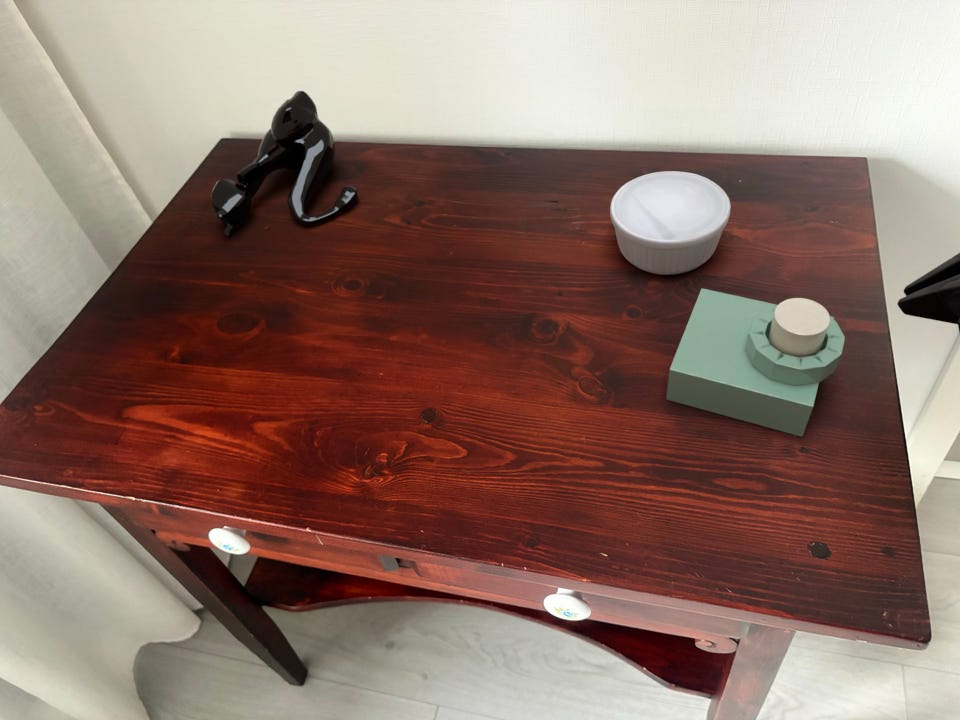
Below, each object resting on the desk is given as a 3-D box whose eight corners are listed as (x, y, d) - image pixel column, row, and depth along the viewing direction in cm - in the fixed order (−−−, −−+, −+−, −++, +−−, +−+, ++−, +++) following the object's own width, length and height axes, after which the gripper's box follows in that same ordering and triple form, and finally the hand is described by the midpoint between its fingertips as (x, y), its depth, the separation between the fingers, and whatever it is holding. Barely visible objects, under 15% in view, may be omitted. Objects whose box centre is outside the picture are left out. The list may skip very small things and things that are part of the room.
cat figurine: (391, 185, 93) (301, 292, 87) (301, 135, 95) (208, 235, 89) (386, 131, 84) (285, 246, 78) (287, 77, 86) (181, 183, 80)
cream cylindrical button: (826, 327, 60) (834, 304, 58) (817, 363, 57) (825, 340, 55) (774, 315, 61) (780, 292, 59) (763, 350, 59) (769, 327, 57)
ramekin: (589, 261, 76) (589, 220, 72) (641, 200, 81) (643, 158, 78) (693, 298, 71) (699, 256, 67) (741, 230, 76) (749, 187, 72)
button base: (835, 351, 65) (853, 302, 60) (815, 441, 59) (833, 393, 55) (696, 319, 69) (703, 270, 65) (665, 399, 64) (671, 352, 59)
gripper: (1153, 8, 41) (882, 137, 54) (1093, 197, 32) (785, 297, 45) (1244, 168, 43) (963, 254, 56) (1212, 386, 34) (885, 428, 47)
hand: (904, 301), depth 51 cm, fingers closed
